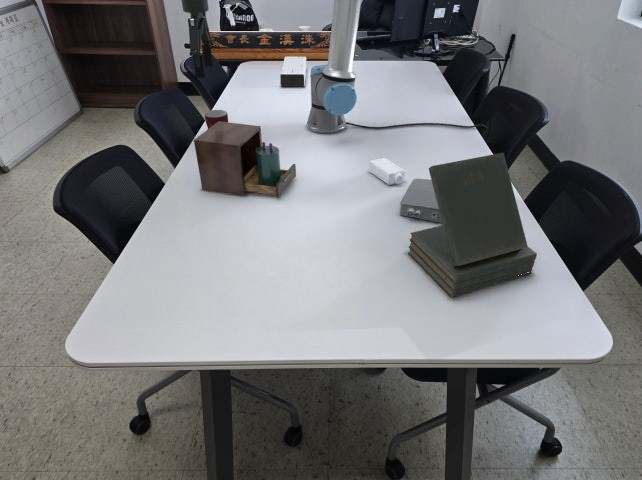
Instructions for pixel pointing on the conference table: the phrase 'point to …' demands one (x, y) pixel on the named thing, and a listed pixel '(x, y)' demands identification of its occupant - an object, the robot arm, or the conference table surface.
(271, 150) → the pen pot
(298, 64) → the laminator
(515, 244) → the stack of books
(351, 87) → the robot arm
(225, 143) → the open wooden box
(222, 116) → the mug
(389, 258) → the conference table surface
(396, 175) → the white bottle
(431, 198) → the electronic device
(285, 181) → the drawer
